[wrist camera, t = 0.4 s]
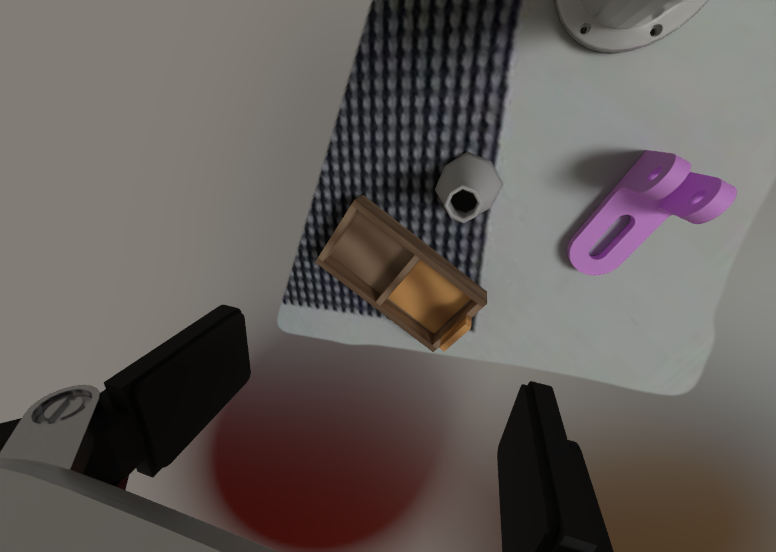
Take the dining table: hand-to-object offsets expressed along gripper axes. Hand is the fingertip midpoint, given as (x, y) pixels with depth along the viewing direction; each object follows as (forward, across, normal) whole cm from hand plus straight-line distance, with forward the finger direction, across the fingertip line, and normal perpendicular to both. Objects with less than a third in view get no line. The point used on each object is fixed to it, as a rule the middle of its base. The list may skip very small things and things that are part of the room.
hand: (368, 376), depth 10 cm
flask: (+32, -2, -2) cm, 32 cm away
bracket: (+32, -18, -1) cm, 37 cm away
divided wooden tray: (+32, +5, +11) cm, 34 cm away
